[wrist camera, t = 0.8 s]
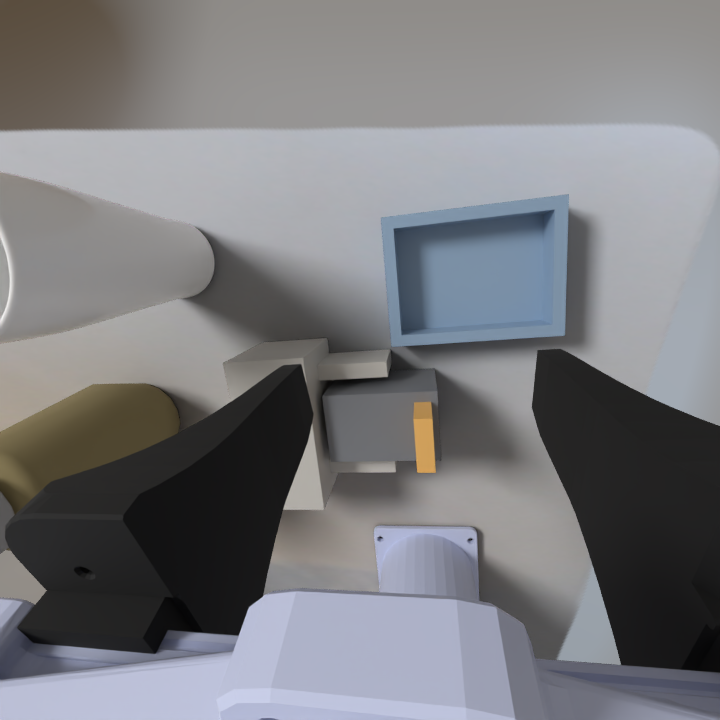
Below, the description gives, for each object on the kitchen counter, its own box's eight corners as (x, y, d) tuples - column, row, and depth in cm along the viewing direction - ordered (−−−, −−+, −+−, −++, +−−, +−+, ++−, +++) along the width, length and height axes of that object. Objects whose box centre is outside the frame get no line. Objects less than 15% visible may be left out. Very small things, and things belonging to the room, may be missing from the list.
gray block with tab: (345, 429, 29) (321, 483, 22) (338, 373, 28) (311, 411, 21) (437, 426, 28) (443, 483, 21) (434, 368, 27) (439, 406, 20)
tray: (551, 328, 25) (564, 335, 23) (393, 339, 27) (391, 346, 25) (553, 201, 23) (568, 194, 21) (384, 221, 25) (380, 217, 23)
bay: (399, 461, 29) (394, 510, 23) (282, 463, 31) (250, 509, 25) (389, 333, 27) (380, 352, 21) (262, 342, 28) (222, 362, 23)
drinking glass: (243, 243, 27) (39, 222, 12) (205, 323, 29) (-9, 385, 14) (162, 191, 27) (-136, 111, 12) (129, 275, 29) (-160, 289, 14)
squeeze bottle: (213, 427, 31) (-46, 635, 14) (151, 476, 33) (-140, 708, 16) (146, 349, 30) (-220, 467, 13) (87, 404, 32) (-293, 568, 15)
